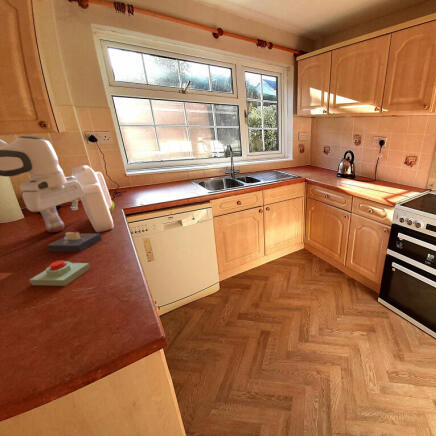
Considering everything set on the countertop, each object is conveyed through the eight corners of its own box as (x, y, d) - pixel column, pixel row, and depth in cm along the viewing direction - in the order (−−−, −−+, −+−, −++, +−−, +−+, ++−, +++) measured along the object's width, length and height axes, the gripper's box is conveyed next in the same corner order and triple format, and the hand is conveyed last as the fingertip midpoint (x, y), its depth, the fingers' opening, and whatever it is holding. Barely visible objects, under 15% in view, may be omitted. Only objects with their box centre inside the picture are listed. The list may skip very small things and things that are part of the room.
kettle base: (32, 285, 80) (26, 275, 78) (60, 267, 89) (56, 258, 88) (65, 285, 79) (60, 275, 77) (91, 268, 88) (87, 258, 87)
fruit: (94, 218, 135) (88, 201, 131) (101, 213, 143) (95, 196, 140) (113, 216, 138) (107, 199, 134) (118, 210, 146) (113, 194, 142)
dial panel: (49, 251, 101) (46, 244, 100) (73, 239, 111) (70, 233, 110) (80, 251, 100) (77, 245, 99) (101, 239, 110) (99, 233, 109)
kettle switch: (48, 270, 81) (46, 266, 81) (59, 264, 85) (56, 260, 84) (58, 270, 81) (56, 266, 80) (68, 264, 84) (66, 260, 84)
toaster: (124, 228, 121) (104, 168, 109) (96, 236, 114) (72, 172, 102) (113, 215, 139) (94, 162, 128) (88, 221, 132) (67, 165, 120)
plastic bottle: (48, 231, 121) (30, 192, 113) (66, 227, 125) (50, 189, 117) (47, 235, 116) (29, 195, 109) (66, 231, 120) (49, 192, 113)
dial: (67, 239, 104) (64, 232, 103) (70, 238, 105) (67, 231, 104) (78, 239, 104) (75, 232, 102) (81, 238, 105) (78, 231, 104)
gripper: (68, 174, 103) (80, 205, 108) (13, 187, 84) (31, 224, 89) (82, 174, 102) (93, 205, 107) (29, 187, 83) (46, 224, 88)
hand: (64, 214), depth 98 cm, fingers open, 8 cm apart
